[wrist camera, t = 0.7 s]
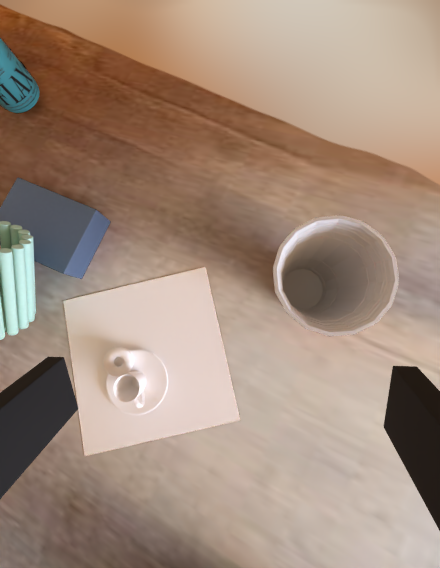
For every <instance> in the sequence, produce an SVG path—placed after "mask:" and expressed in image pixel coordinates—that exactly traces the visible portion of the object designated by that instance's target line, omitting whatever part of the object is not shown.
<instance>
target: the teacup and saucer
mask: <svg viewBox="0 0 440 568" xmlns="http://www.w3.org/2000/svg"><path fill="white" fill-rule="evenodd" d="M102 365H103V368H104V370H105V372H106V378H105V389H106V393H107V396H108V398H109V400H110V402H111V403H112V404H113V406H114V407H115V408H116V409H118V410H119V411H120V412H122V413H124V414H127V415H131V416H140V415H145V414H147V413H150V412H151V411H153V410H154V409H156V408H157V407H158V406H159V405H160V404H161V402H162V401H163V400H164V398H165V396H166V394H167V391H168V386H169V376H168V371H167V368H166V366H165V364H164V363H163V361H162V360H161V359H160V358H159V357H158V356H157V355H156V354H154V353H153V352H151V351H149V350H146V349H140V348H136V349H130V350H129V349H127V348H125V347H122V346H115V347H112V348H111V349H109V350H108V351H107V352H106V353H105V355H104V357H103V360H102Z"/></svg>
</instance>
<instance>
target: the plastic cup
mask: <svg viewBox="0 0 440 568" xmlns="http://www.w3.org/2000/svg"><path fill="white" fill-rule="evenodd" d="M273 278H274V288H275V293H276V295H277V297H278V298H279V300H280V302H281V304H282V306H283V308H284V310H285V311H286V313H287V314H288V315H289V316H291V317H292V318H293V319H294V320H295V321H297V322H298V323H299V324H300V325H301V326H303V327H304V328H305V329H308V330H311V331H314V332H317V333H320V334H323V335H326V336H342V335H355V334H357V333H359V332H361V331H363V330H365V329H367V328H369V327H371V326H373V325H375V324H377V323H378V321H379V320H380V319H381V318H382V317H383V315H384V314H385V313H386V312H387V311H388V310H389V308H390V307H391V306H392V305H393V301H394V298H395V294H396V291H397V288H398V284H399V276H398V268H397V261H396V256H395V255H394V253H393V251H392V250H391V248H390V246H389V245H388V243H387V241H386V240H385V238H384V237H383V236H382V235H381V234H380V233H378V232H377V231H376V230H374V229H373V228H372V227H370V226H369V225H368V224H366V223H365V222H364V221H360V220H357V219H353V218H349V217H346V216H342V215H334V216H324V217H315V218H314V219H312V220H310V221H308V222H306V223H304V224H302V225H300V226H298V227H296V228H294V230H293V231H292V232H291V233H290V234H289V236H288V237H287V238H286V239H285V240H284V242H283V243H282V244H281V245H280V246H279V250H278V253H277V256H276V259H275V262H274V266H273Z"/></svg>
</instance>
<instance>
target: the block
mask: <svg viewBox="0 0 440 568" xmlns="http://www.w3.org/2000/svg"><path fill="white" fill-rule="evenodd" d="M0 221H7V222H10V223H11V225H19V226H22V230H28V231H30V235H31V236H33V243H34V261H36V262H38V263H41V264H43V265H45V266H47V267H49V268H52V269H54V270H56V271H58V272H61V273H63V274H66V275H69V276H73V277H76V278H80V279H82V277H83V275H84V273H85V271H86V269H87V267H88V265H89V264H90V262H91V260H92V258H93V256H94V254H95V252H96V250H97V248H98V246H99V244H100V242H101V240H102V238H103V236H104V234H105V232H106V230H107V228H108V226H109V224H110V221H109V220H108V219H107V218H106V217H104V216H103V215H102V214H101V213H100V212H98V211H97V210H96V209H93V208H91V207H88V206H86V205H84V204H81V203H79V202H76V201H74V200H72V199H69V198H67V197H64V196H62V195H59V194H57V193H55V192H52V191H50V190H47V189H45V188H43V187H40V186H38V185H35V184H33V183H30V182H28V181H26V180H23V179H21V178H17V179H16V181H15V183H14V185H13V186H12V188H11V190H10V192H9V193H8V195H7V197H6V199H5V200H4V202H3V204H2V206H1V208H0ZM0 246H1V242H0Z"/></svg>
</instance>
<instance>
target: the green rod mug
mask: <svg viewBox="0 0 440 568" xmlns="http://www.w3.org/2000/svg"><path fill="white" fill-rule="evenodd" d="M0 242H1V249H0V340H1V339H3V338H4V337H5V332H7V334H8V335H16V334H17V333H18V332H19V329H26V328H27V327H28V326H29V322H32V321H34V320H35V313H36V296H35V270H34V243H33V236H31V235H30V231H28V230H22V226H19V225H11V223H10V222H7V221H0ZM18 328H19V329H18Z"/></svg>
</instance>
